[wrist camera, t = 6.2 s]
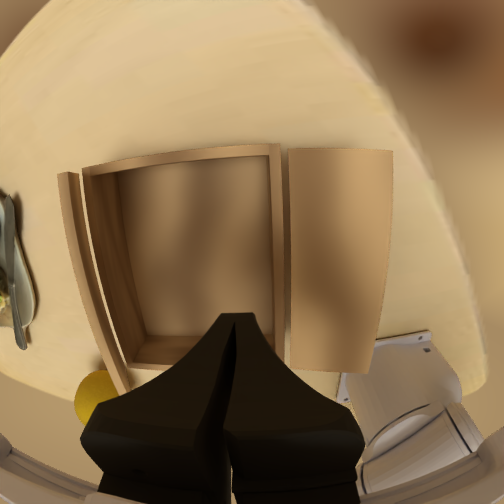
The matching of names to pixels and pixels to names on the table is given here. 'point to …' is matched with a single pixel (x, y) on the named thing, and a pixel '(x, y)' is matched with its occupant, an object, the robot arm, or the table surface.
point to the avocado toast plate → (14, 277)
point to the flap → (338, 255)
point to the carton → (188, 246)
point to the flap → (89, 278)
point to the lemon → (93, 393)
